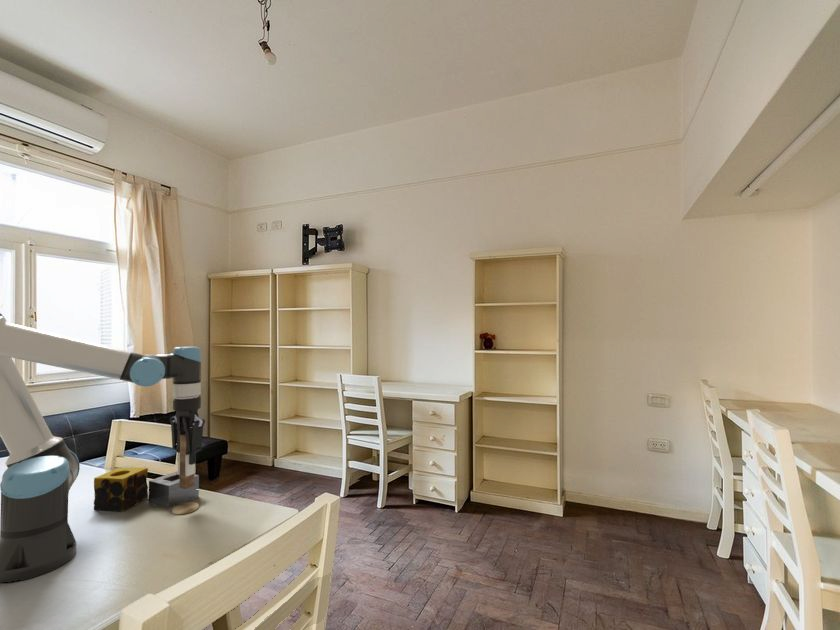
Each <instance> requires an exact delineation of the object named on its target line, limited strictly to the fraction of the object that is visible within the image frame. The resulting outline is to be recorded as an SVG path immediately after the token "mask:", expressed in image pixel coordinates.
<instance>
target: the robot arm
mask: <svg viewBox="0 0 840 630" xmlns="http://www.w3.org/2000/svg"><path fill="white" fill-rule="evenodd" d="M14 359H17V360H21V361H26V362H30V363H31V362H32V363H36V364H41V365H45V366H50V367H56V368H60V369H66V370H69V371H70V370H71V371H76V372H80V373H85V374H90V375H95V376H100V377H106V378H108V379H109V378H111V379H115V380H120V381H124V382H129V383H132V384H135V385H137V386H140V387H153V386H155V385H156V384H159V383H160V382H161V381H162V380H166V379H167V380H169V379H172V397H173V399H172V410H173V412H176V413H175V415H174V416H171V417H170V418H169V422H170V425H171V426H170V427H171V428H170V429H171V431H170V432H171V444H172V445H171V447H172V450H175V451H176V453H177V471H178V474H179V475H180V435H181V434H185V433H186V440H187V453H185V454H186V456H185V476H189V475H192V474H196V463H197V453H198V452H201V451H202V449H203V448H202V447H203V437H204V436H203V434H204V433H203V432H204V426H205V422H206V419H204V418H202V419H201V418H200V416H199V412H198V411H199V410H200V409H201V408H202V397H201V396H200V395H201V394H202V393H201V392H202V390H201V389H202V381H201V380H202V350H201V348H200V347H198V346H175V347H174V348H173V351H172V353H164V354H161V353H160V354H159V353H158V354H142V353H137V352H132V351H127V350H123V349H120V348H116V347H111V346H106V345H103V344H98V343H94V342H89V341H86V340H83V339H82V340H81V339H78V338H73V337H69V336H66V335H61V334H57V333H53V332H49V331H44V330H41V329H36V328H33V327H28V326H23V325H20V324H15V323H11V322H8V321H7V319H6V318H5V316H4V315H3V314H2V313H1V312H0V438H1V440H2V442H3V444H4V446H5V447H6V449H7V451H8V453H9V455H8V457H7V459H6V461H5V466H6V467H7V469H6V470H4V472H3V474H2V478H1V482H0V584H4V583H3V582H8V583H12V582H11V581H15V582H18V581H17V580H20V581H23V579H25V580H29V579H33V578H36V577H38V576H41V575H43V574H44V575H45V574H46V573H47V574H48V573H49V572H52V571H54V570H56V569H58V568H60V567H61V566H64V565H65V564H66V563H68V562H69V561H71V560H72V559H73V558H74V557H75V555H76V554H77V540H76V538H75V536H74V533H73V531H72V528H71V527H70V524H69V521H68V520H69V519H68V517H69V493H70V492H69V491H70V490H71V488H72V486H73V484H74V483H75V482H76V480H77V478H78V476H79V473H80V461H79V458H78V456H77V455H76V454H75V453H74V452H73V451H72V450H71V449H69V448H68V446H67V444H66V442H65V440H64V438H63V437H60V436H55V435H53V434H52V432H51V430H50V428H49V426H48V424H47V422H46V421H45V419H44V417H43V415H42V413H41V411H40V409H39V407H38V406H37V403H36V402H35V399H34V398H33V396H32V394H31V392H30V390H29V388H28V387H27V384H26V382H25V381H24V378H23V377H22V375H21V373H20V371H19V369H18V367H17V366H16V364H15V361H14ZM28 578H29V579H28Z"/></svg>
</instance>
